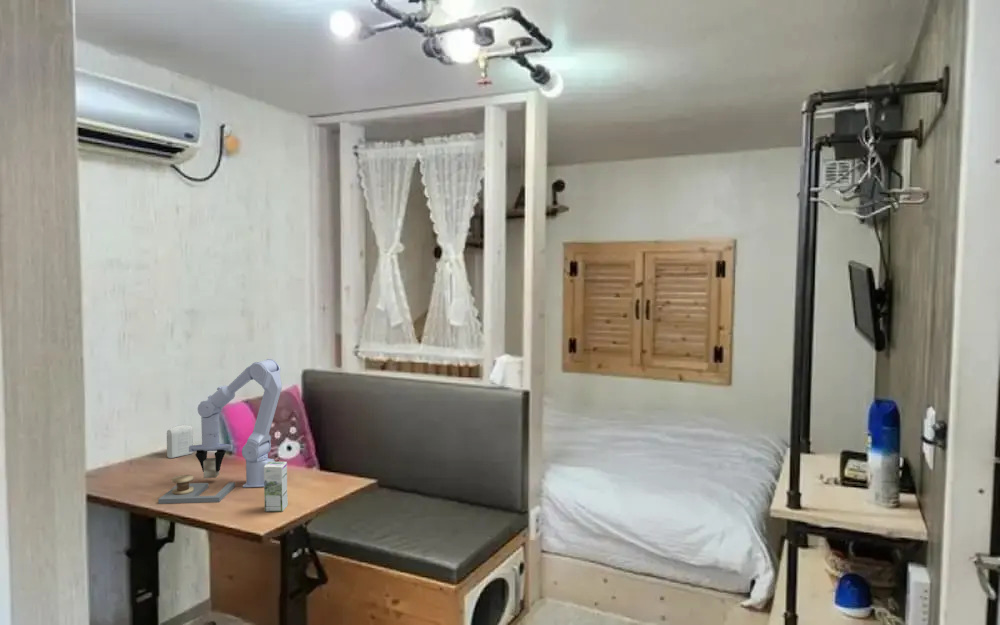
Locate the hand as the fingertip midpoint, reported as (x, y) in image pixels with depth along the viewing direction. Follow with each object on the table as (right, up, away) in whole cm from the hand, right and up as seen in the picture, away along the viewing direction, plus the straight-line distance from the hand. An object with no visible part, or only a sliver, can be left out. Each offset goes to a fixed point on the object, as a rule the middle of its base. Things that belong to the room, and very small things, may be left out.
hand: (211, 471), depth 231 cm
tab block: (0, -2, 0) cm, 2 cm away
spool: (-3, -3, -15) cm, 16 cm away
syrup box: (+32, -6, -27) cm, 43 cm away
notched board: (+2, -5, -14) cm, 15 cm away
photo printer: (-28, -2, +35) cm, 45 cm away
